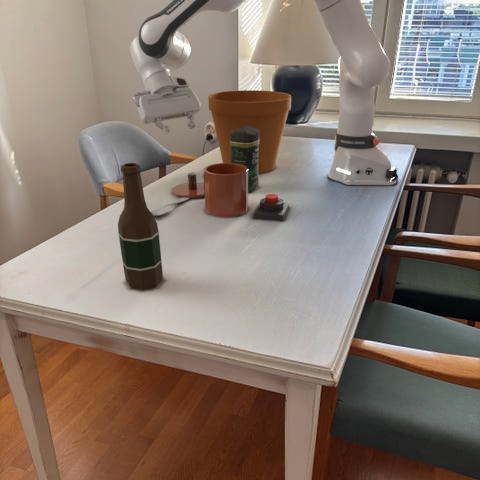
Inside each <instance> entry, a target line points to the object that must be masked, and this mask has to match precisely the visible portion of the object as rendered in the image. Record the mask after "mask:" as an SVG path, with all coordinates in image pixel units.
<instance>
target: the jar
mask: <svg viewBox="0 0 480 480" xmlns="http://www.w3.org/2000/svg"><path fill="white" fill-rule="evenodd" d="M202 172H203V183H204V196H203V197H204V211H205V212H206V213H207V214H208V215H209V216H213V217H216V218H217V217H218V218H233V217H238V216H242V215H245V214H246V213H247V212H248V209H249V192H248V168H247V167H246V166H244V165H241V164H235V163H223V162H221V163H219V162H218V163H211V164H210V165H205V167H204V168H203V170H202Z"/></svg>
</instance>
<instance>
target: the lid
mask: <svg viewBox="0 0 480 480" xmlns="http://www.w3.org/2000/svg"><path fill="white" fill-rule="evenodd" d="M171 193H172V194H173V195H174V196H177V197H181V198H184V197H190V198H200V197H204V182H197V173H195V172H189V173H187V182H184V183H180V184H176V185H175V186H172V188H171Z"/></svg>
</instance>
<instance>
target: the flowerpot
mask: <svg viewBox="0 0 480 480" xmlns="http://www.w3.org/2000/svg"><path fill="white" fill-rule="evenodd" d="M207 98H208V99H207V101H208V111H210V112H211V116H212V121H213V125H214V130H215V133H216V138H217V143H218V147H219V151H220V155H221V156H220V157H221V160H222V163H231V144H230V135H231V132H232V131H234V130H236V129H239V128H242V127H244V126H252V127H257V129H258V130H259V131H260V142H259V151H258V173H259V174H261V173H262V174H264V173H268V172H271V171H273V170H274V169H275V167H276V163H277V159H278V155H279V151H280V146H281V144H282V139H283V135H284V131H285V127H286V122H287V119H288V115H289V111H291V110H292V94H289V93H286V92H283V91H282V92H281V91H272V90H258V89H257V90H253V89H247V90H227V91H219V92H213V93H211V94H209V95H208V97H207Z"/></svg>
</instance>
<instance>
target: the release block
mask: <svg viewBox="0 0 480 480" xmlns="http://www.w3.org/2000/svg"><path fill="white" fill-rule="evenodd" d="M265 200H266V197H263V198H261V199H260V200H259V203H258V205H257V207H256V208H255V210H254V212H253V220H262V221H263V220H264V221H277V222H283V221H284V220H285V217H286V214H287V212H288V210H289V207H290V205H289V204H290V202H289V201H285V200H284V199H283V198H280V197H279V202H278V203H274V204H271V203H266V202H265Z"/></svg>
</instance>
